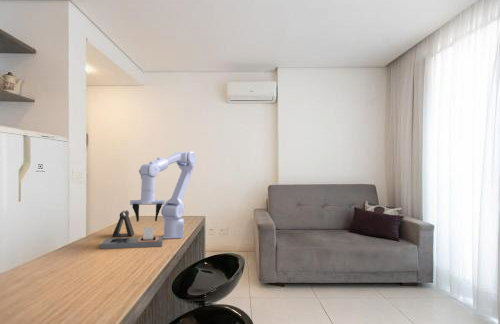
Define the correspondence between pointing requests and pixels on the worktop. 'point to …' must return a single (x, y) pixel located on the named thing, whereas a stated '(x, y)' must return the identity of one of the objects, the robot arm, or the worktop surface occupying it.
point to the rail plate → (131, 242)
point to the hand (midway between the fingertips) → (146, 221)
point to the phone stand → (127, 224)
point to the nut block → (148, 233)
